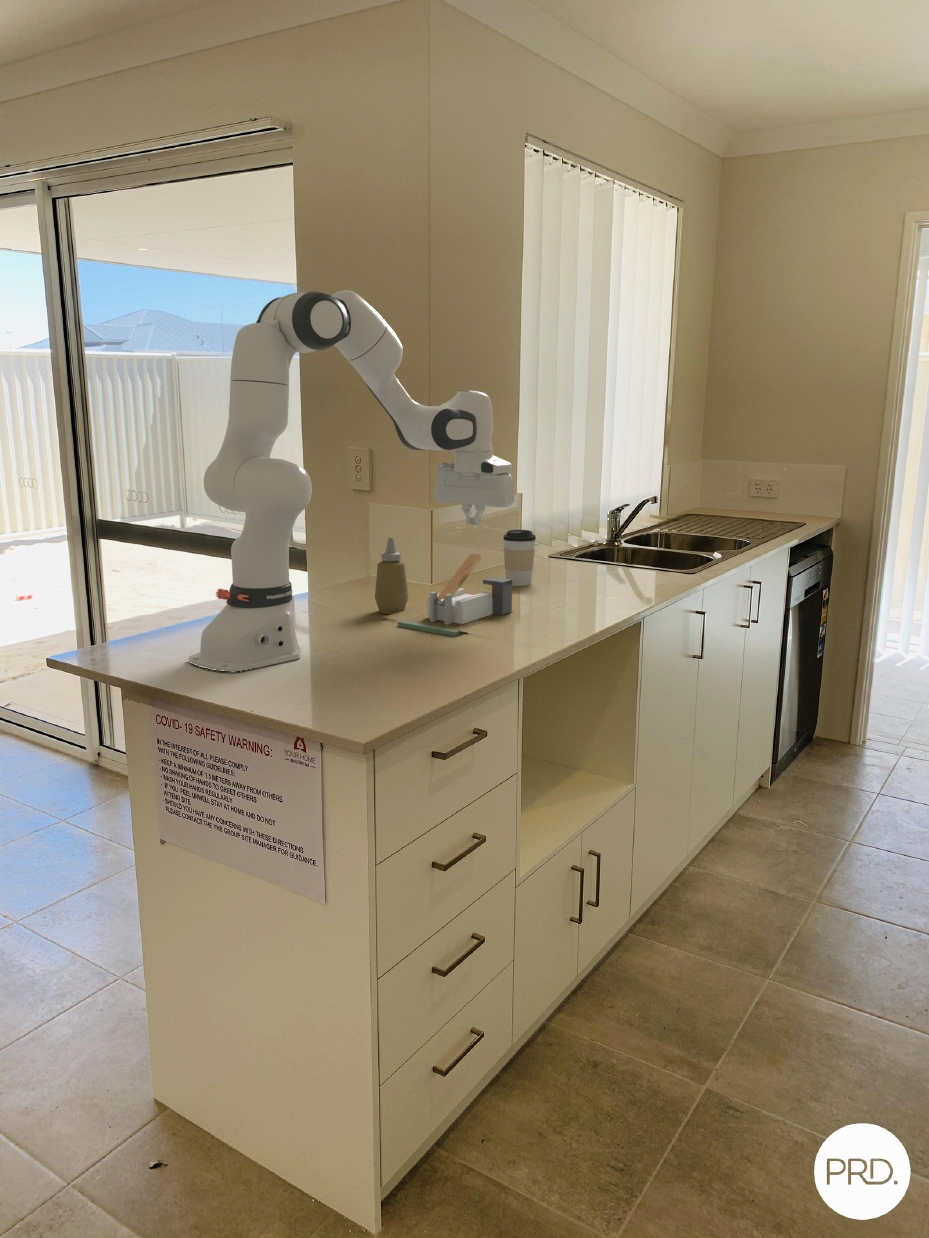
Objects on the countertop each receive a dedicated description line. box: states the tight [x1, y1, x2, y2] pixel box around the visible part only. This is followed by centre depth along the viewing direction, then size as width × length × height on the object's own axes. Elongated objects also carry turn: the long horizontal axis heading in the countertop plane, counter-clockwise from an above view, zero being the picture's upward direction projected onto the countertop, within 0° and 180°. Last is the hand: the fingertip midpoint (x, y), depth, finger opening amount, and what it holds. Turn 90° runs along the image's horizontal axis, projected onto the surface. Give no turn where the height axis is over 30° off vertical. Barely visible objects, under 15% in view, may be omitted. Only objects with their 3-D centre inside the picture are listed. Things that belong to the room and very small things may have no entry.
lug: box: [482, 576, 513, 616], centre depth 221 cm, size 4×6×8 cm
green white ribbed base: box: [397, 587, 508, 638], centre depth 217 cm, size 26×16×8 cm, turn 145°
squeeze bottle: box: [374, 537, 409, 615], centre depth 224 cm, size 8×8×18 cm
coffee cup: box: [502, 529, 537, 587], centre depth 259 cm, size 9×9×15 cm
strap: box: [435, 553, 482, 606], centre depth 215 cm, size 17×3×1 cm
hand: (473, 524), depth 217 cm, fingers closed
